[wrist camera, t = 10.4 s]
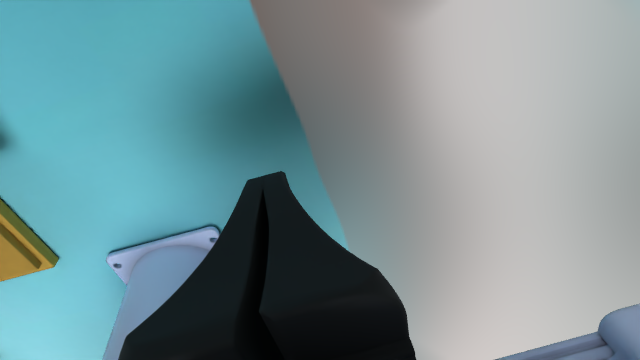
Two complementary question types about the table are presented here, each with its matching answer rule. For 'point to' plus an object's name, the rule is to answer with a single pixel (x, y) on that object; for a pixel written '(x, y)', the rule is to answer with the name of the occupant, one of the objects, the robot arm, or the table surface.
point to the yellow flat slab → (20, 247)
